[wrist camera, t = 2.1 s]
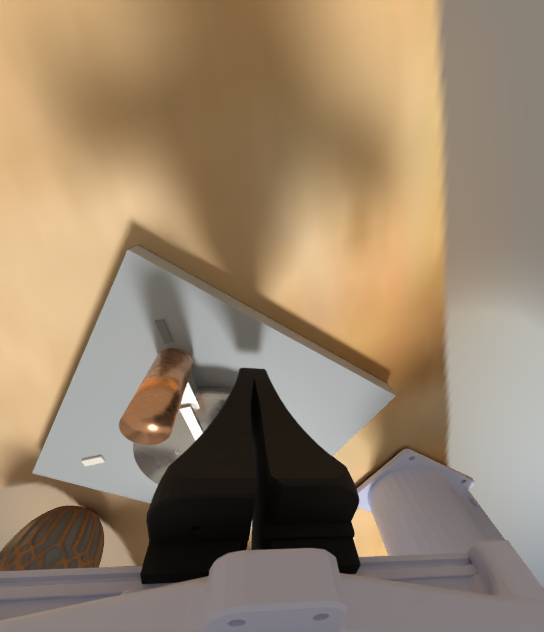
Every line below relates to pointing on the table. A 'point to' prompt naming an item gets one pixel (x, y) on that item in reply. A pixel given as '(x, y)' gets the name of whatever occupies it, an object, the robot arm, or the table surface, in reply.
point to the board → (208, 370)
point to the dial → (169, 412)
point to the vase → (56, 542)
